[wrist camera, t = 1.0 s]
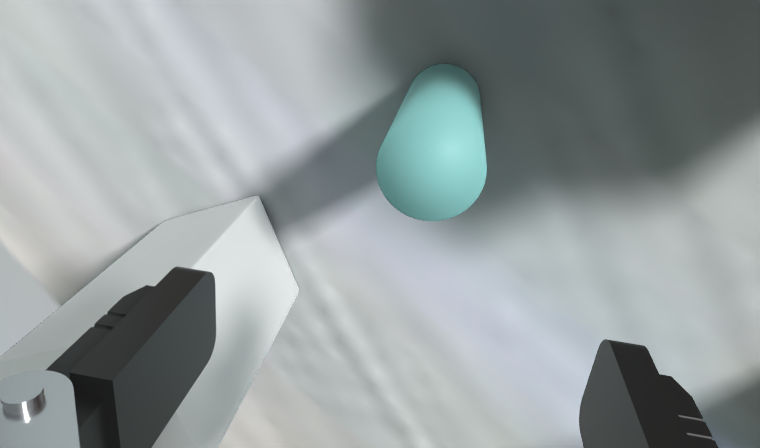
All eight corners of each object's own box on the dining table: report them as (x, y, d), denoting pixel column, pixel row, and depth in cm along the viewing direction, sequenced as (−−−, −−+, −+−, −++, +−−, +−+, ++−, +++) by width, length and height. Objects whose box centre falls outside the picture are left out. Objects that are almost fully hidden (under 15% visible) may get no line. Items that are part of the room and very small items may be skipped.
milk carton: (163, 220, 37) (-99, 436, 20) (260, 193, 35) (64, 405, 18) (208, 310, 40) (10, 572, 22) (301, 289, 38) (163, 557, 21)
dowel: (486, 69, 30) (496, 125, 20) (472, 141, 32) (475, 229, 21) (412, 58, 31) (382, 107, 20) (402, 130, 32) (370, 211, 22)
